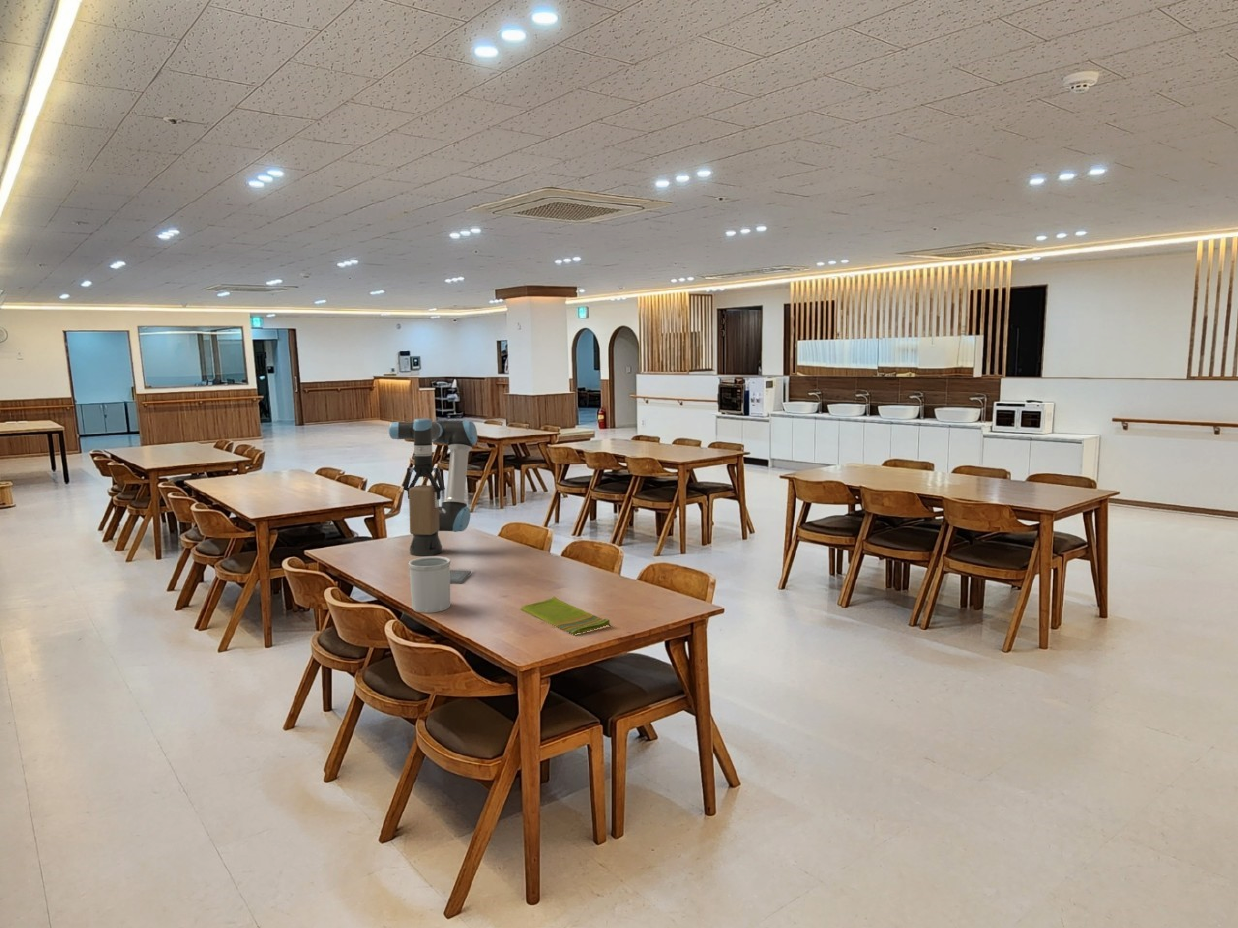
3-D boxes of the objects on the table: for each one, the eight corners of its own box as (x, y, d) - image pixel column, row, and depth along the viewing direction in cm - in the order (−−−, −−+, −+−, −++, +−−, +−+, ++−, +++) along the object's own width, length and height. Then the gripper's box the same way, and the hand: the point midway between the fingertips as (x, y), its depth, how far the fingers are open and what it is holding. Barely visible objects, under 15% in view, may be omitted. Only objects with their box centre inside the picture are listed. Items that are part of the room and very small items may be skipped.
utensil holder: (430, 616, 281) (429, 568, 279) (401, 609, 289) (399, 562, 286) (459, 605, 293) (458, 559, 291) (431, 599, 301) (429, 554, 299)
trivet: (434, 572, 339) (434, 569, 339) (471, 573, 338) (471, 570, 338) (423, 582, 323) (422, 579, 323) (461, 583, 322) (461, 580, 322)
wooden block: (440, 530, 343) (439, 485, 341) (431, 535, 333) (430, 488, 331) (418, 530, 344) (417, 484, 342) (409, 534, 335) (408, 487, 332)
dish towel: (574, 637, 260) (573, 628, 259) (519, 611, 288) (519, 602, 288) (611, 628, 269) (611, 619, 268) (555, 603, 297) (555, 595, 297)
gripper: (394, 455, 333) (395, 507, 335) (446, 456, 331) (447, 508, 333) (400, 454, 340) (402, 505, 342) (452, 454, 338) (453, 505, 340)
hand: (424, 506), depth 338 cm, fingers closed on wooden block, 10 cm apart
